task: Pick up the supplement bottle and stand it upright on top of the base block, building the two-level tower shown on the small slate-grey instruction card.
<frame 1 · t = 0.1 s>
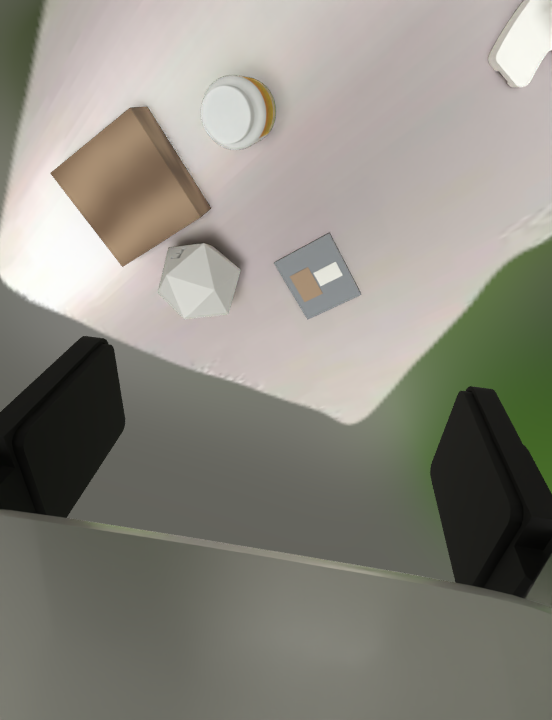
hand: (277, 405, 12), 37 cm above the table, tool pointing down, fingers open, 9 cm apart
supplement bottle: (249, 111, 41), on the table
base block: (141, 187, 45), on the table
instruction card: (317, 278, 48), on the table
die: (208, 268, 50), on the table
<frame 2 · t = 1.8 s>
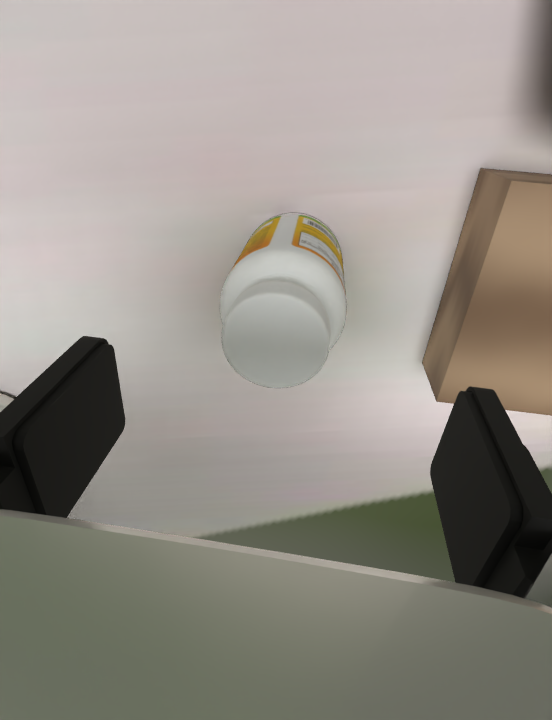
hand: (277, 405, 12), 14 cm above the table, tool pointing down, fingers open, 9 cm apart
supplement bottle: (293, 259, 24), on the table
base block: (551, 288, 23), on the table
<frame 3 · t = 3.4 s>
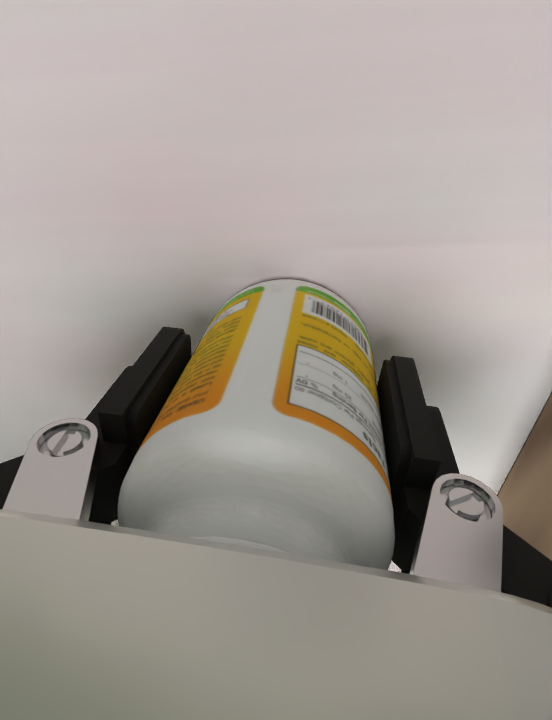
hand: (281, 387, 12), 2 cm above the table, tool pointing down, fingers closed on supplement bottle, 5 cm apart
supplement bottle: (289, 349, 14), on the table, touching gripper
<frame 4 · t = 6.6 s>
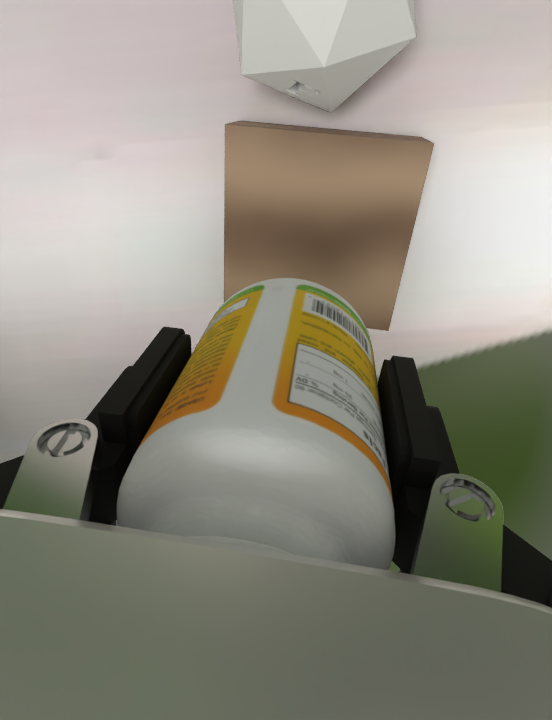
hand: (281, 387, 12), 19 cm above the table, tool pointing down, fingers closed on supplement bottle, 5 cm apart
supplement bottle: (289, 348, 14), point 17 cm above the table, touching gripper
base block: (318, 221, 28), on the table
die: (323, 11, 23), on the table
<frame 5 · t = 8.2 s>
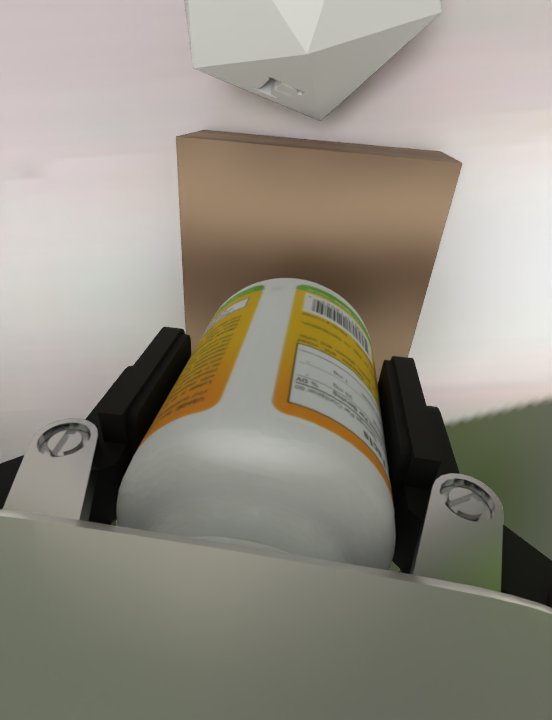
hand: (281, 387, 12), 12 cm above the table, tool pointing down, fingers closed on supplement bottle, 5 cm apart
supplement bottle: (289, 348, 14), point 10 cm above the table, touching gripper
base block: (306, 256, 22), on the table
when the fingers open (7 cm above the table, at t = 9.8 s): supplement bottle drops 1 cm, resting on base block.
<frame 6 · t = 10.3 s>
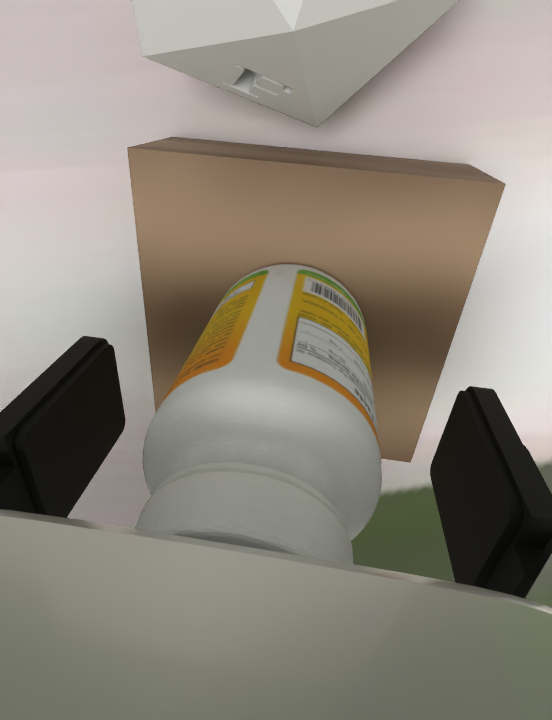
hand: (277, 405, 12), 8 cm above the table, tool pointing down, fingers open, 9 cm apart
supplement bottle: (290, 330, 15), point 4 cm above the table, touching base block
base block: (301, 289, 18), on the table
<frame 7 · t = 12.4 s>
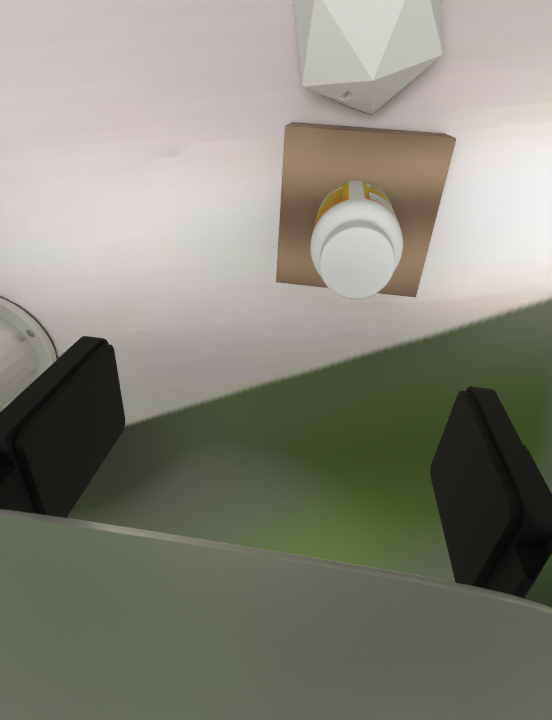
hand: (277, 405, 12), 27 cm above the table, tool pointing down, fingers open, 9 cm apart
supplement bottle: (354, 218, 30), point 4 cm above the table, touching base block
base block: (355, 206, 34), on the table
die: (364, 32, 28), on the table
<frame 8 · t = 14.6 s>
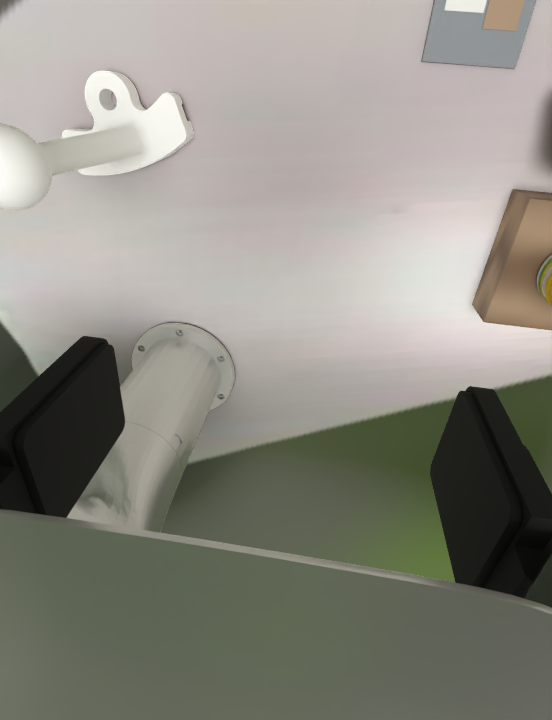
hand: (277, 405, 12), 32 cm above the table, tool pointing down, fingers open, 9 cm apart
base block: (551, 257, 39), on the table
joystick: (129, 121, 38), on the table
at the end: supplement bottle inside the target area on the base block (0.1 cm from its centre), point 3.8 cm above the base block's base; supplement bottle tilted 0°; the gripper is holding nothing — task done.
